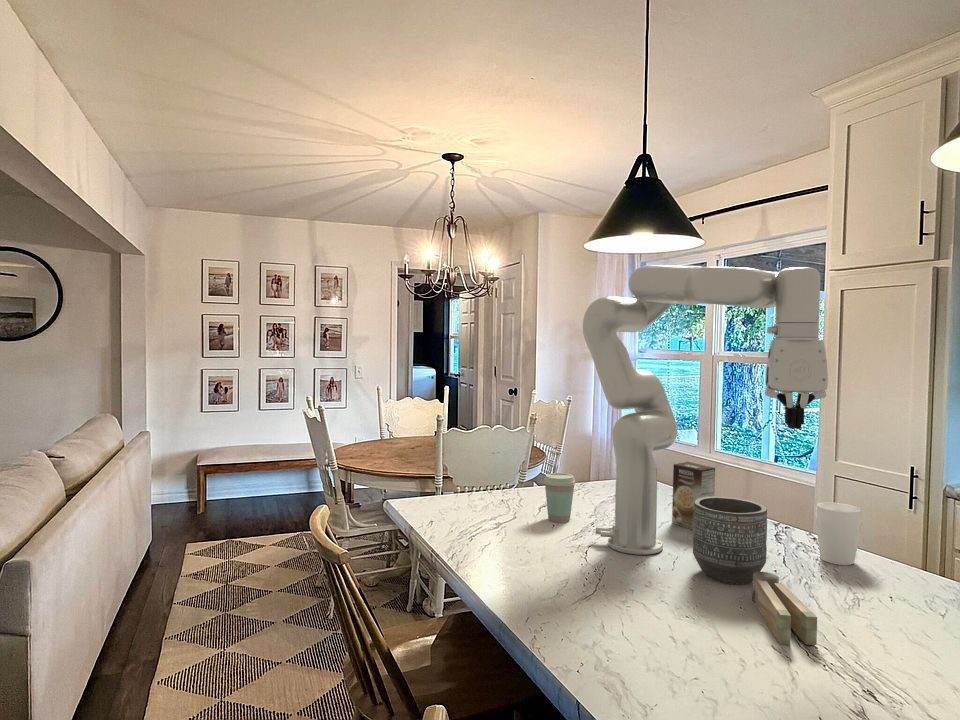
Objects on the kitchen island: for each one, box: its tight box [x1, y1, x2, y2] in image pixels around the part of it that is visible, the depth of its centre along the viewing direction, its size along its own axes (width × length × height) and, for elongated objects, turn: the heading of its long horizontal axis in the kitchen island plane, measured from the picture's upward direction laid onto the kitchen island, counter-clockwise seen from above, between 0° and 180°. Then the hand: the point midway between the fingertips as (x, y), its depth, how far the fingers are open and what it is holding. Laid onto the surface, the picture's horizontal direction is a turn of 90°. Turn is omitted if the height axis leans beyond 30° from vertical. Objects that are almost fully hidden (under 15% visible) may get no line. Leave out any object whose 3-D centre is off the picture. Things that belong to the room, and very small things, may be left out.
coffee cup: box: [543, 472, 576, 524], centre depth 171 cm, size 8×8×12 cm
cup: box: [814, 501, 863, 566], centre depth 141 cm, size 9×9×12 cm
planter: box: [692, 495, 768, 585], centre depth 131 cm, size 14×14×15 cm
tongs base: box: [751, 571, 792, 646], centre depth 110 cm, size 4×19×5 cm, turn 170°
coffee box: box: [671, 461, 716, 530], centre depth 167 cm, size 9×6×16 cm
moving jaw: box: [774, 583, 818, 646], centre depth 108 cm, size 2×14×4 cm, turn 175°
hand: (794, 427), depth 122 cm, fingers closed
